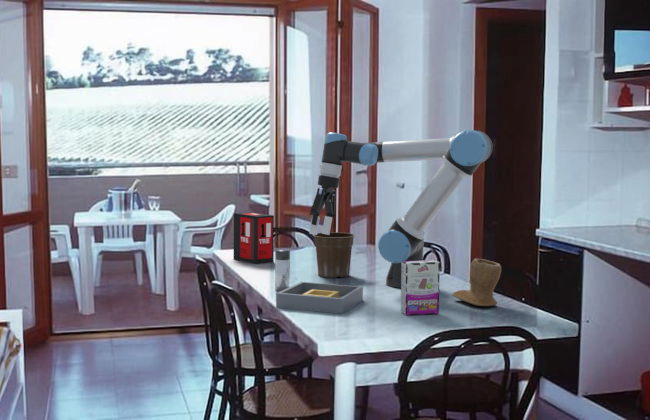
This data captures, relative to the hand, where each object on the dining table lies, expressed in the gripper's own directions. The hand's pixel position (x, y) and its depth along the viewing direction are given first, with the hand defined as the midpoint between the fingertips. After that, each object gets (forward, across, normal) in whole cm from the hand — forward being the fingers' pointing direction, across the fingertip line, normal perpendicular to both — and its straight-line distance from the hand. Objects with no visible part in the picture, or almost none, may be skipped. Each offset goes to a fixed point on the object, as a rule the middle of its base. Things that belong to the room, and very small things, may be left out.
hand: (319, 234), depth 293 cm
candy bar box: (+17, +26, +46) cm, 56 cm away
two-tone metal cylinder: (+21, +10, -7) cm, 24 cm away
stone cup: (+12, +4, +61) cm, 62 cm away
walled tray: (+20, +25, +13) cm, 35 cm away
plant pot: (+17, -25, 0) cm, 30 cm away
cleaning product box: (+20, -45, -43) cm, 66 cm away
